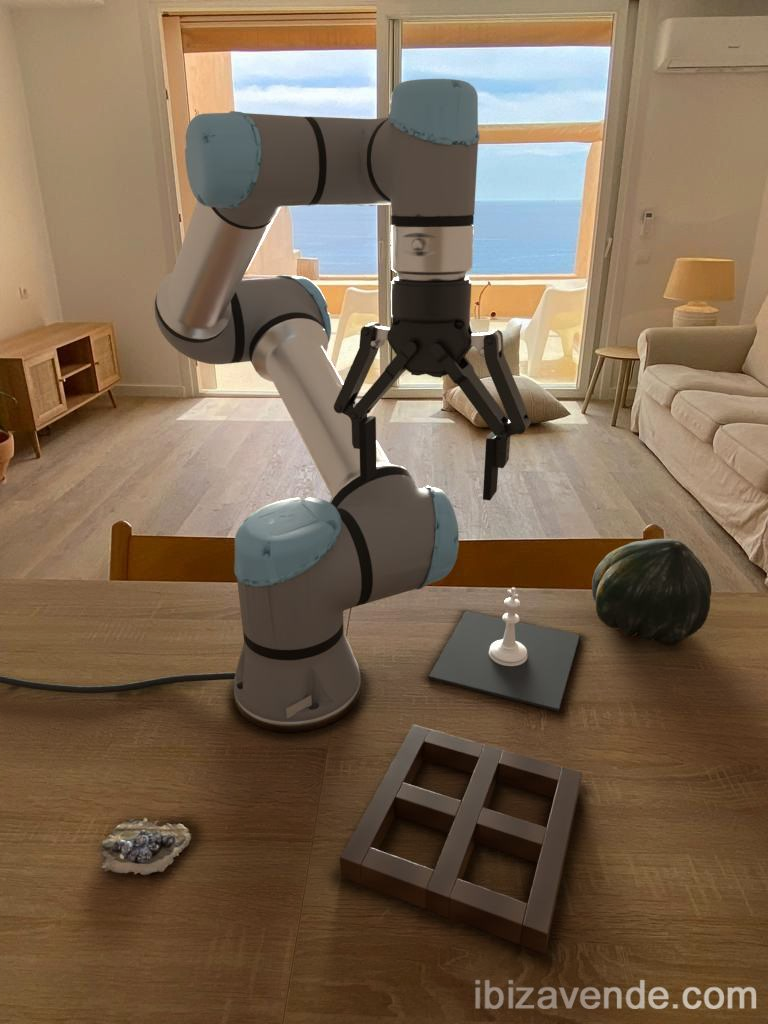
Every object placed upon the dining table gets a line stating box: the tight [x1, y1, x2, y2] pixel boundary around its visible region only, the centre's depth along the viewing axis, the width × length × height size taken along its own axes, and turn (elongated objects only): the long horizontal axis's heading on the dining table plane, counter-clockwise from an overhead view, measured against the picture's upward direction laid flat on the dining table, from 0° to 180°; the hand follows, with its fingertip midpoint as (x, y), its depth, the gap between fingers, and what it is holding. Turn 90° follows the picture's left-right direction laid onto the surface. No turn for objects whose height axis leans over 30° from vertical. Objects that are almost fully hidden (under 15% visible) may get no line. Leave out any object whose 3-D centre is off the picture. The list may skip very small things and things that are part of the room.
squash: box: [591, 538, 712, 646], centre depth 93 cm, size 14×15×15 cm
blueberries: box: [100, 817, 192, 876], centre depth 64 cm, size 7×8×2 cm
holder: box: [339, 724, 583, 955], centre depth 65 cm, size 18×18×2 cm
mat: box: [428, 610, 581, 712], centre depth 90 cm, size 16×16×1 cm
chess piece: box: [489, 586, 527, 666], centre depth 88 cm, size 5×5×10 cm
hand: (427, 486), depth 73 cm, fingers open, 13 cm apart
